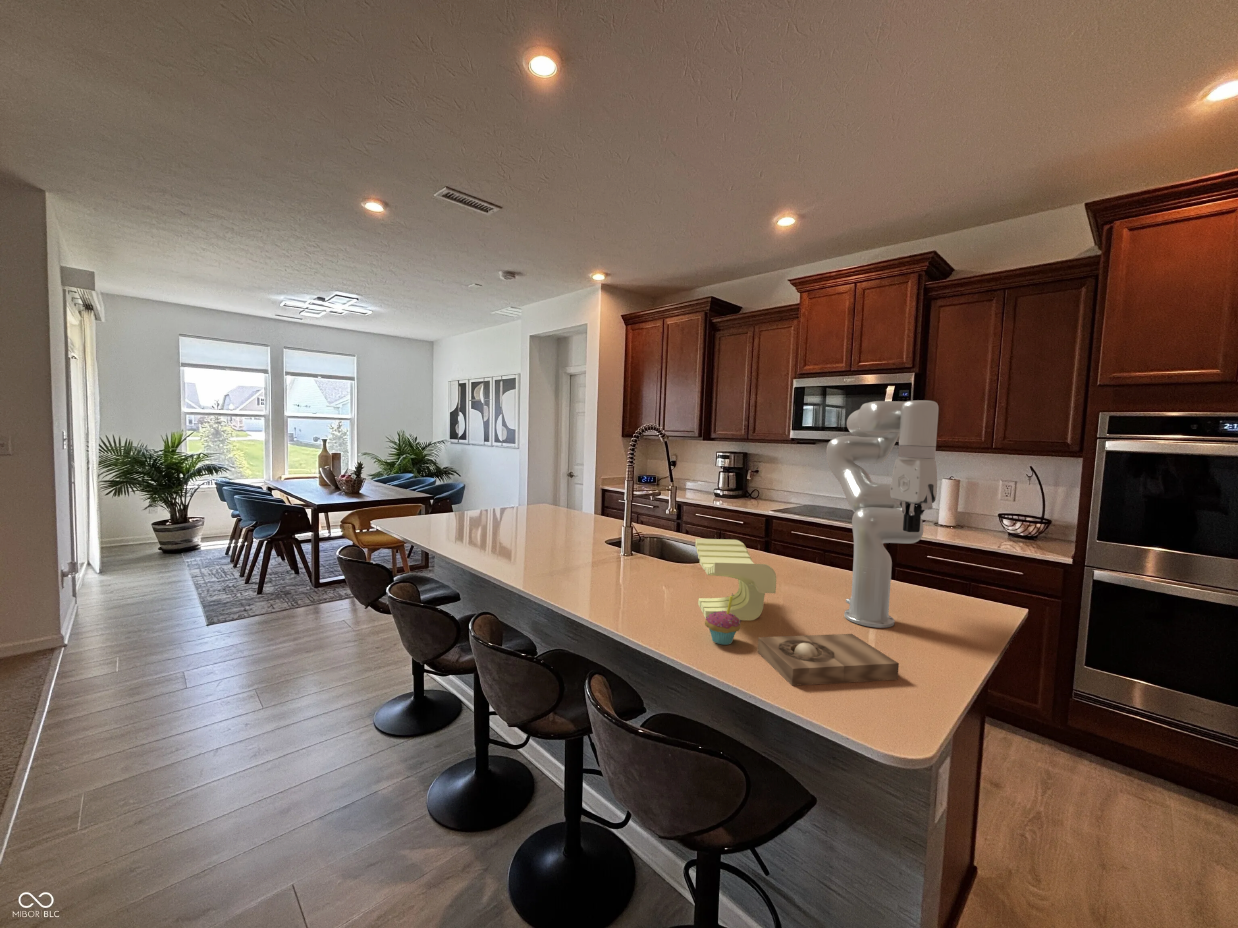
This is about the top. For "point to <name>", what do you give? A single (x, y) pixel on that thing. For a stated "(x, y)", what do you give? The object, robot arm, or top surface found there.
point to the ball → (806, 650)
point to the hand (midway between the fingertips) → (911, 531)
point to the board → (827, 659)
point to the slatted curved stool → (737, 564)
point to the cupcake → (723, 625)
